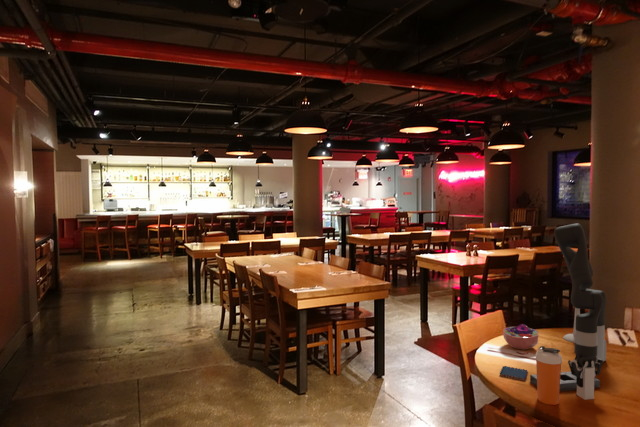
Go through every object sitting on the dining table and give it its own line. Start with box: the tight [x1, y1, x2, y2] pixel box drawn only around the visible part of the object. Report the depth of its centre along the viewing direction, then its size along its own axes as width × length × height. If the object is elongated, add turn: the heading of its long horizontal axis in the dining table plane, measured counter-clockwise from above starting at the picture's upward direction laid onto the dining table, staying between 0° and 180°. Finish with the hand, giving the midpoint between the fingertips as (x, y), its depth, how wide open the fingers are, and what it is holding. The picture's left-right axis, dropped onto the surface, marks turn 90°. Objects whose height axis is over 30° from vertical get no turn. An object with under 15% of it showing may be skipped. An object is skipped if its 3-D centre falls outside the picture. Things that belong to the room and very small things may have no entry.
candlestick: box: [563, 307, 581, 344], centre depth 232 cm, size 13×13×30 cm
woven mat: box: [499, 365, 529, 382], centre depth 188 cm, size 10×11×2 cm
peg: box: [576, 367, 595, 401], centre depth 166 cm, size 4×4×12 cm
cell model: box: [502, 323, 539, 350], centre depth 221 cm, size 17×20×11 cm
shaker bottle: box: [535, 345, 563, 406], centre depth 163 cm, size 9×9×20 cm
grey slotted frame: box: [529, 370, 601, 392], centre depth 177 cm, size 24×10×3 cm, turn 100°
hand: (585, 385), depth 166 cm, fingers closed on peg, 4 cm apart
